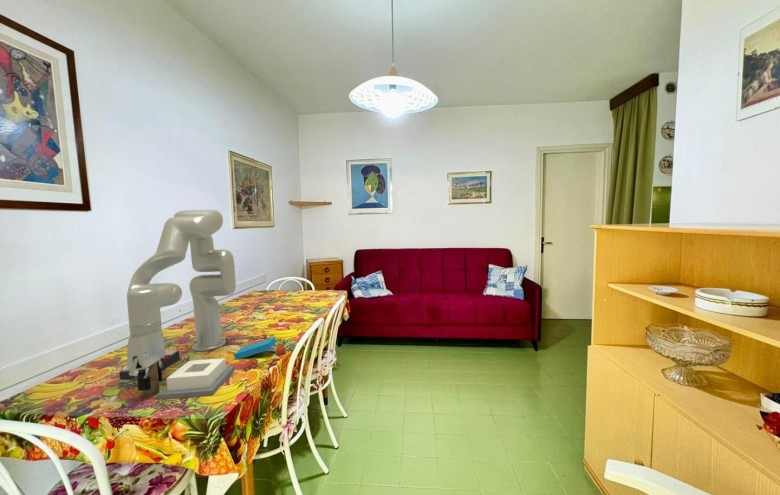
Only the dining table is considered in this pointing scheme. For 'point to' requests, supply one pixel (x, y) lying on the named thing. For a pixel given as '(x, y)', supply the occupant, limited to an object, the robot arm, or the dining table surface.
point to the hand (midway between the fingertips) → (150, 384)
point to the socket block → (196, 379)
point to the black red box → (167, 361)
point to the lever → (259, 348)
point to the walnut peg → (152, 381)
